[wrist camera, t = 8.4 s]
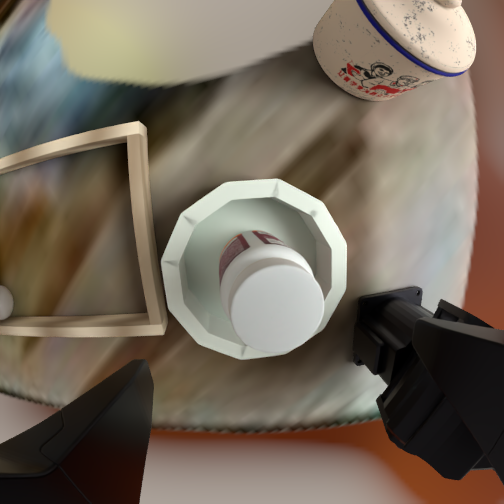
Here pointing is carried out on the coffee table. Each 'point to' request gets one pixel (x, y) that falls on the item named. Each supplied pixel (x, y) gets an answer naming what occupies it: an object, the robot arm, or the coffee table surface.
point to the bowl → (225, 228)
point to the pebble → (5, 303)
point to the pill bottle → (268, 292)
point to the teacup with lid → (393, 44)
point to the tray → (144, 236)
